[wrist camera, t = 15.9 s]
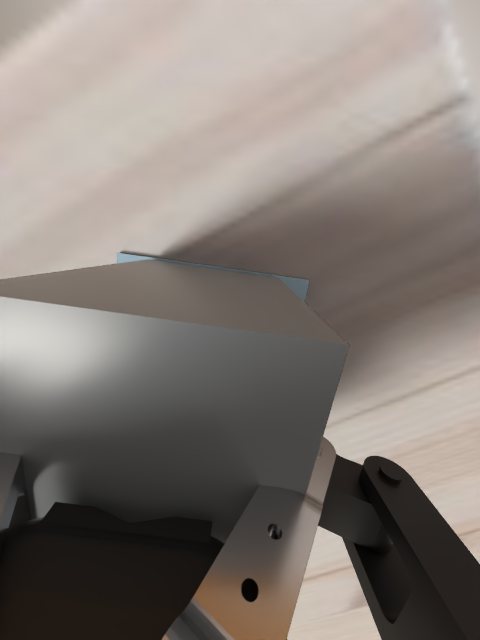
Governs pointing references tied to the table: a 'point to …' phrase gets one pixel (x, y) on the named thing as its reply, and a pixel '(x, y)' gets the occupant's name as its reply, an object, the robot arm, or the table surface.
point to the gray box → (162, 389)
